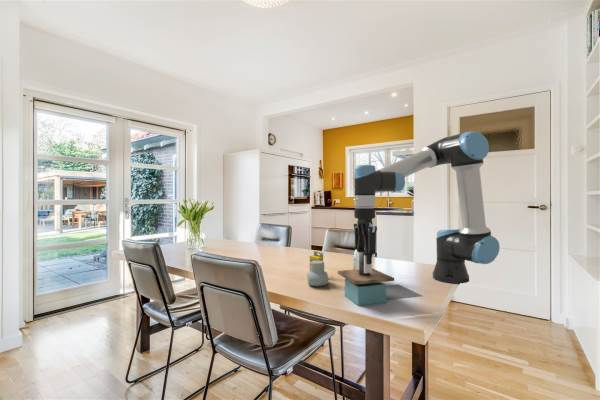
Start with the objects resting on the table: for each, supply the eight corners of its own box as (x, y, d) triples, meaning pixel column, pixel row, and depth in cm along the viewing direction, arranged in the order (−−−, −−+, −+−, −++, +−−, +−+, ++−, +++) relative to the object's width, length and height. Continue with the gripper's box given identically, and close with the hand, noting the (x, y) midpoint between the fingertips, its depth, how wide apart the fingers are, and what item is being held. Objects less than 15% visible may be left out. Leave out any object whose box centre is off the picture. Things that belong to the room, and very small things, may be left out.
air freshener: (328, 288, 126) (328, 264, 126) (309, 288, 125) (309, 264, 125) (325, 281, 137) (324, 259, 136) (306, 281, 136) (306, 259, 136)
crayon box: (309, 275, 147) (309, 251, 146) (314, 274, 148) (314, 251, 148) (318, 278, 141) (318, 253, 140) (323, 277, 142) (323, 253, 142)
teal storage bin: (370, 294, 117) (370, 276, 117) (386, 304, 107) (386, 284, 107) (344, 297, 114) (344, 278, 114) (358, 307, 104) (358, 287, 104)
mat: (398, 285, 129) (398, 284, 129) (423, 297, 114) (423, 296, 114) (364, 288, 125) (364, 287, 125) (386, 301, 110) (386, 300, 110)
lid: (372, 270, 120) (372, 248, 120) (394, 280, 105) (394, 255, 105) (337, 273, 116) (337, 250, 116) (355, 284, 101) (355, 257, 101)
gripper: (345, 207, 117) (345, 266, 118) (366, 208, 101) (366, 277, 101) (362, 206, 119) (362, 265, 120) (386, 208, 103) (386, 276, 103)
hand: (364, 271), depth 110 cm, fingers closed on lid, 4 cm apart
